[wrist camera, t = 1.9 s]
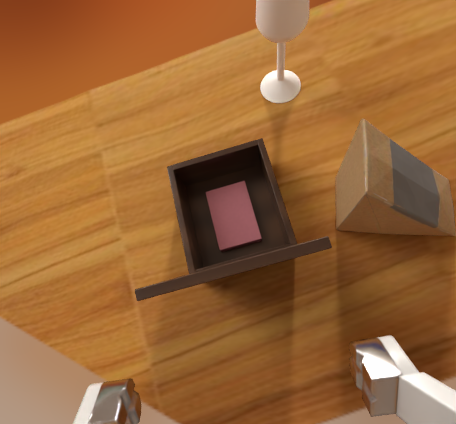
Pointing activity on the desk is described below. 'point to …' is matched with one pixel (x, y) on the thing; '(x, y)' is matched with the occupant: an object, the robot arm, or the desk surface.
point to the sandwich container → (390, 190)
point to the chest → (220, 177)
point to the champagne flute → (281, 43)
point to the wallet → (233, 216)
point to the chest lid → (233, 268)
